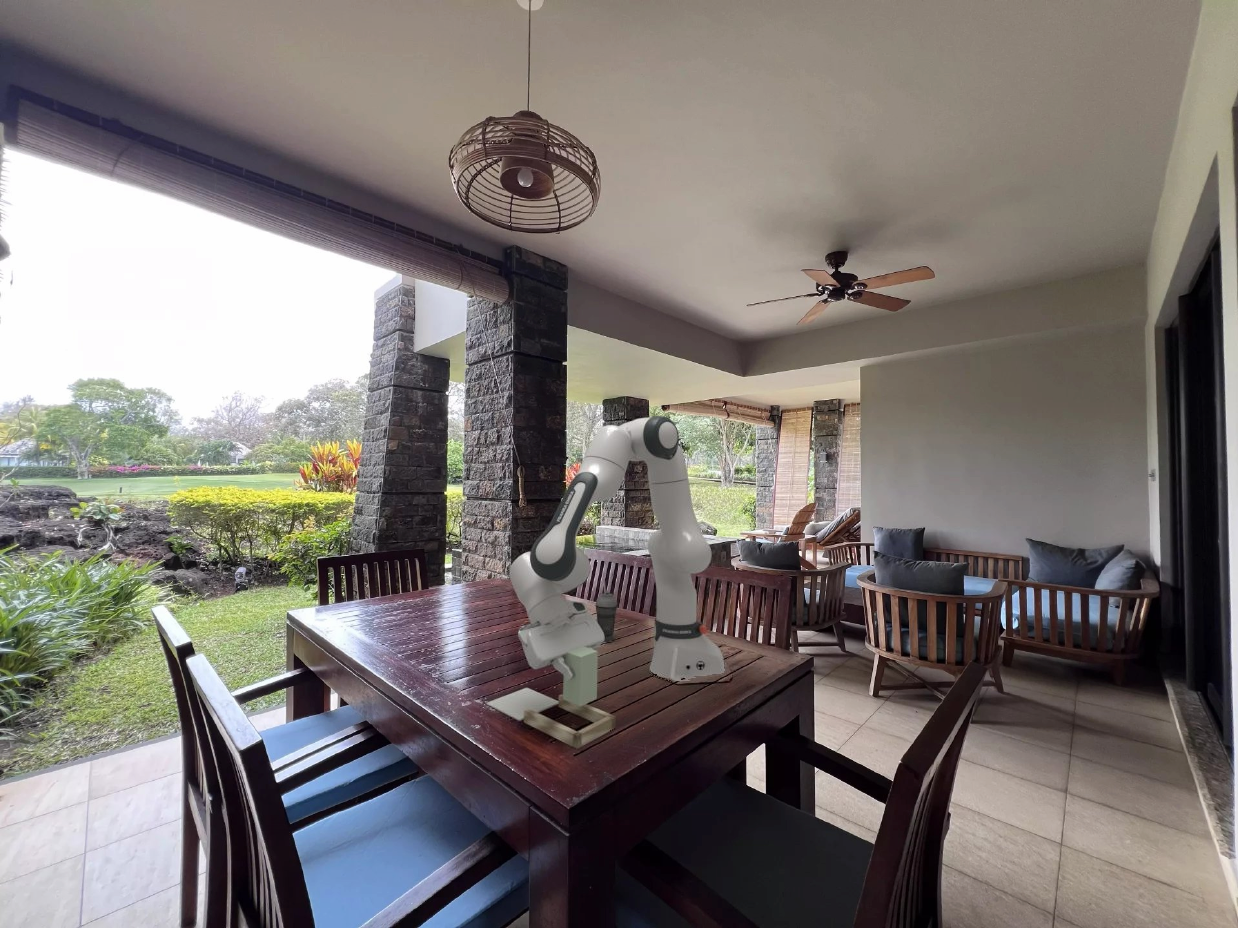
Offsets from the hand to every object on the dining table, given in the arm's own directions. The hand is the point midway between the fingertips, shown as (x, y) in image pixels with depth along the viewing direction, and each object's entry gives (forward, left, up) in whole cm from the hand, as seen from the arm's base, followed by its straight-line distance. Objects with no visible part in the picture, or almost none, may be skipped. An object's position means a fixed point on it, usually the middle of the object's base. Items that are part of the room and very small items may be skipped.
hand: (582, 673), depth 107 cm
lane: (+2, -2, -12) cm, 12 cm away
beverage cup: (-3, -59, -12) cm, 61 cm away
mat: (+14, -12, -12) cm, 22 cm away
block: (0, 0, -5) cm, 5 cm away
